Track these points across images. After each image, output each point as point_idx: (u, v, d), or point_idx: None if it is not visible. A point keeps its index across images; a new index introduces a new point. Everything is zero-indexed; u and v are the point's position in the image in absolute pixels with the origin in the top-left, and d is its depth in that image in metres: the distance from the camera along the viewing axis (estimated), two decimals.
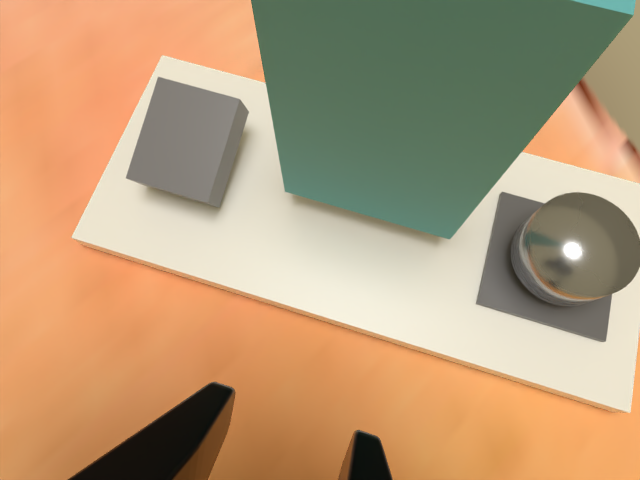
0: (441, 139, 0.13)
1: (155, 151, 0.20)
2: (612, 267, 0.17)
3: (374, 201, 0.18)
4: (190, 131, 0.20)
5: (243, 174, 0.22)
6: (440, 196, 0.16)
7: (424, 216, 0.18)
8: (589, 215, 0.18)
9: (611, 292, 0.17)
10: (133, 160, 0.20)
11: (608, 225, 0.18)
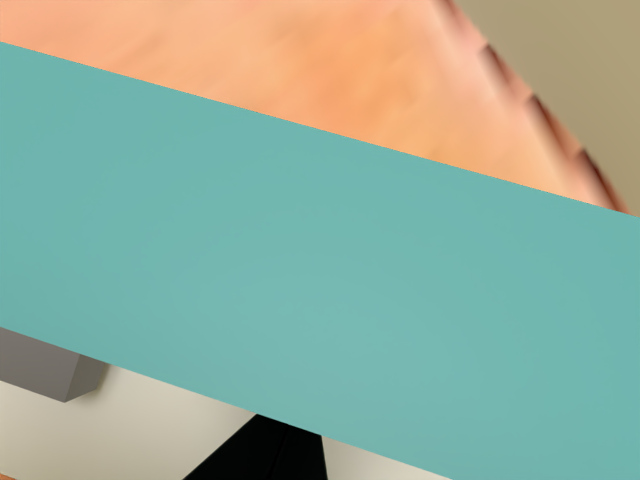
0: None
1: None
2: None
3: None
4: None
5: None
6: None
7: None
8: None
9: None
10: None
11: None
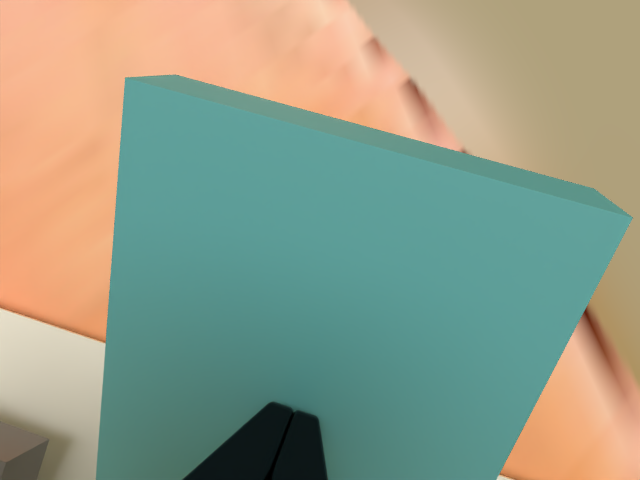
0: (371, 457, 0.08)
1: None
2: None
3: None
4: None
5: None
6: None
7: None
8: None
9: None
10: None
11: None
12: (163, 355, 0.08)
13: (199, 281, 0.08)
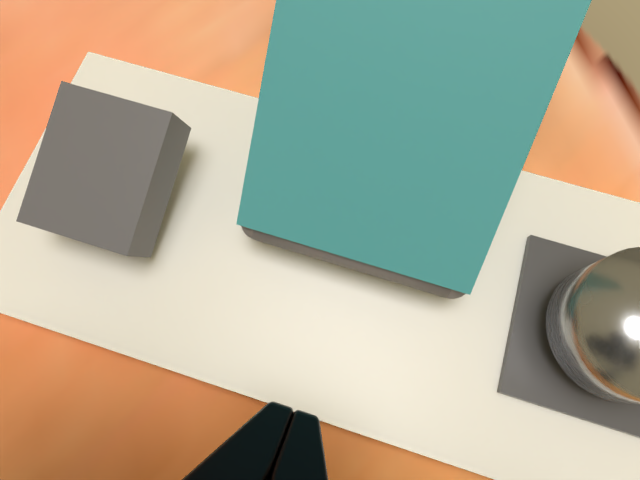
0: (489, 12, 0.11)
1: (56, 185, 0.14)
2: None
3: (371, 208, 0.13)
4: (105, 157, 0.14)
5: (187, 210, 0.17)
6: (471, 162, 0.12)
7: (440, 231, 0.13)
8: None
9: None
10: (27, 196, 0.14)
11: None
12: None
13: None
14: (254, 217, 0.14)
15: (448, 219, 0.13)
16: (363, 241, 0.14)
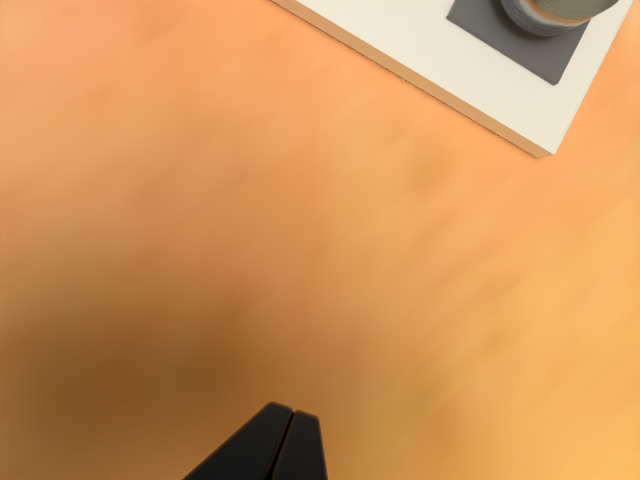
0: None
1: None
2: None
3: None
4: None
5: None
6: None
7: None
8: None
9: (588, 13, 0.16)
10: None
11: None
12: None
13: None
14: None
15: None
16: None
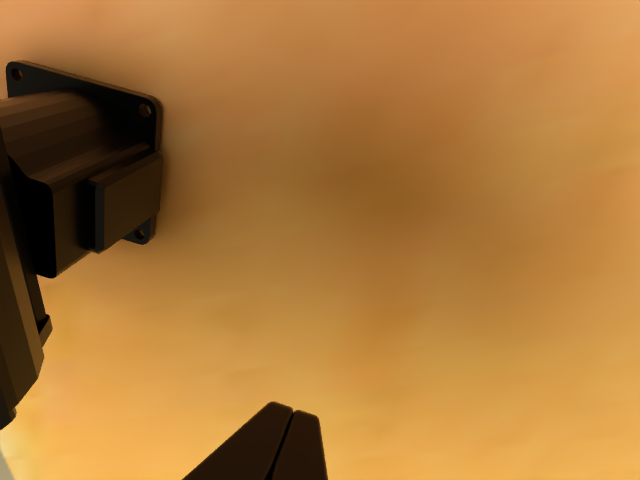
0: None
1: None
2: None
3: None
4: None
5: None
6: None
7: None
8: None
9: None
10: None
11: None
12: None
13: None
14: None
15: None
16: None
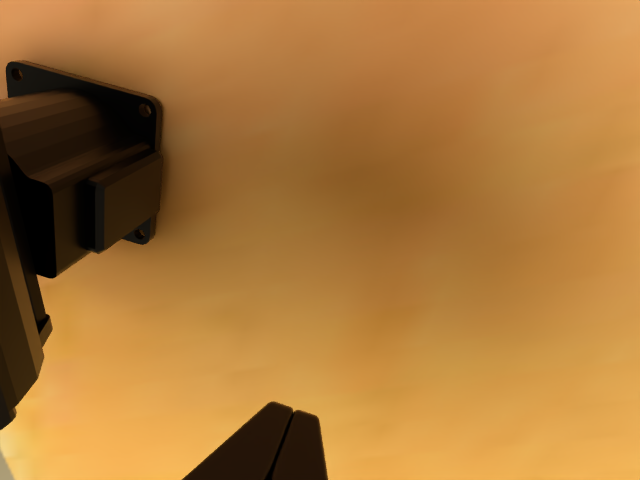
0: None
1: None
2: None
3: None
4: None
5: None
6: None
7: None
8: None
9: None
10: None
11: None
12: None
13: None
14: None
15: None
16: None
